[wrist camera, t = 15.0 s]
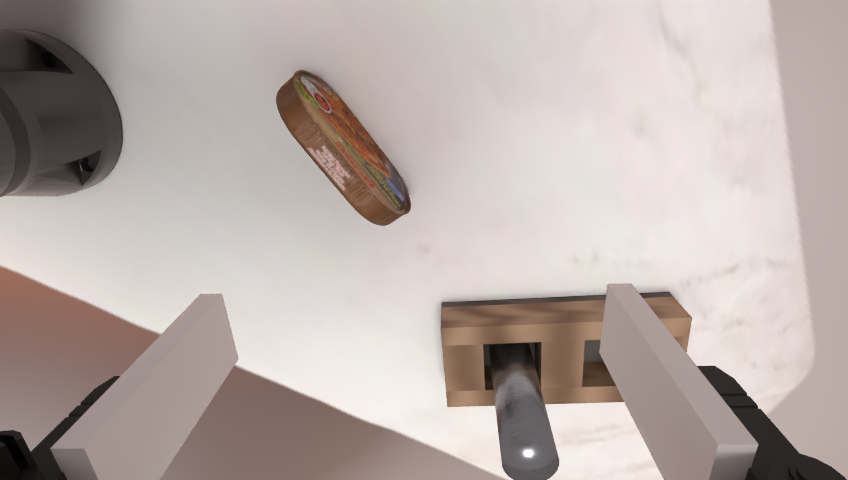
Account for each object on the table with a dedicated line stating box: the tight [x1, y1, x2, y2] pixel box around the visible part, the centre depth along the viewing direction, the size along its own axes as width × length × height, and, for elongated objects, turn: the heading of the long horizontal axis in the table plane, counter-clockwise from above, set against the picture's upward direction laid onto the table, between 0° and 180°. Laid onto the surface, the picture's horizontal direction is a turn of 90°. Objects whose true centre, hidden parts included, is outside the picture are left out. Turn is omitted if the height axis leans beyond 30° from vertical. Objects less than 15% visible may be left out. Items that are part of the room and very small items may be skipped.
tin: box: [276, 70, 411, 226], centre depth 40 cm, size 15×3×8 cm, turn 37°
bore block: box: [441, 292, 692, 407], centre depth 49 cm, size 24×10×5 cm, turn 95°
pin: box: [488, 342, 559, 480], centre depth 43 cm, size 4×4×16 cm
